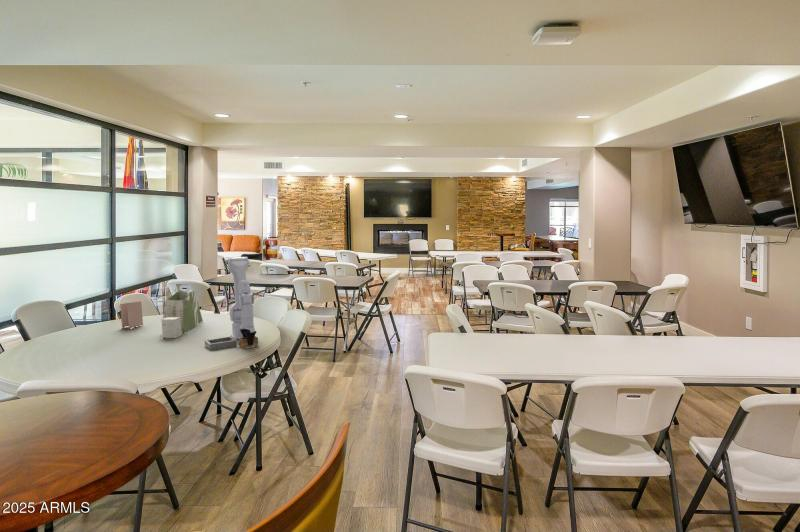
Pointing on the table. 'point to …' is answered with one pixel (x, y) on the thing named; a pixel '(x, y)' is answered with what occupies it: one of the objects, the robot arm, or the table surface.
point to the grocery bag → (183, 309)
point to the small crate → (244, 343)
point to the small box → (171, 327)
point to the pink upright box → (131, 314)
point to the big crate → (220, 343)
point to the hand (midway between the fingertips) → (248, 343)
